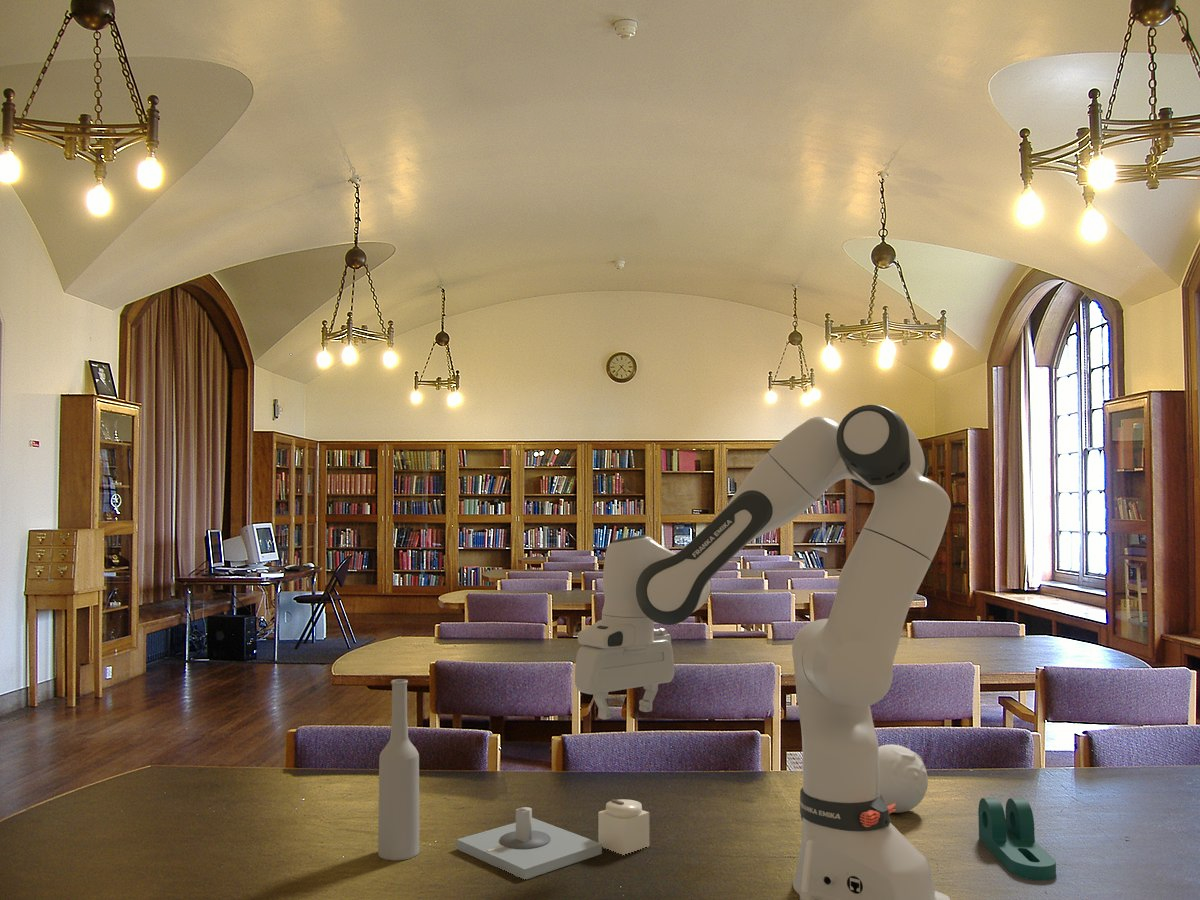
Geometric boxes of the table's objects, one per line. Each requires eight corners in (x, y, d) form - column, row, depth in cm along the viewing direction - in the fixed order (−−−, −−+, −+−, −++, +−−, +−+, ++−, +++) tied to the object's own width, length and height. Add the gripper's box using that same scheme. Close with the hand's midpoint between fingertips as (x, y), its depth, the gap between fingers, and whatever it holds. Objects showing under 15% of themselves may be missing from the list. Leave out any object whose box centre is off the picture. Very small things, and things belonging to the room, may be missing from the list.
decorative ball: (903, 826, 174) (902, 757, 175) (847, 809, 183) (846, 744, 184) (941, 812, 182) (940, 746, 182) (885, 797, 191) (884, 734, 192)
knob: (649, 846, 165) (649, 803, 165) (623, 855, 161) (623, 811, 161) (624, 837, 169) (624, 795, 169) (598, 846, 165) (598, 802, 165)
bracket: (979, 839, 168) (977, 792, 168) (1019, 840, 168) (1018, 793, 168) (1017, 881, 150) (1016, 828, 150) (1063, 882, 150) (1062, 829, 150)
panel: (601, 853, 161) (601, 812, 162) (524, 880, 151) (524, 835, 151) (532, 826, 175) (532, 788, 175) (456, 849, 164) (457, 808, 164)
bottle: (370, 853, 162) (371, 680, 163) (404, 843, 167) (405, 675, 168) (392, 864, 157) (393, 686, 159) (427, 853, 162) (427, 680, 163)
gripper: (657, 625, 176) (655, 703, 176) (570, 634, 163) (567, 719, 162) (683, 629, 172) (681, 710, 171) (595, 638, 158) (593, 726, 157)
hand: (625, 714), depth 166 cm, fingers open, 8 cm apart
